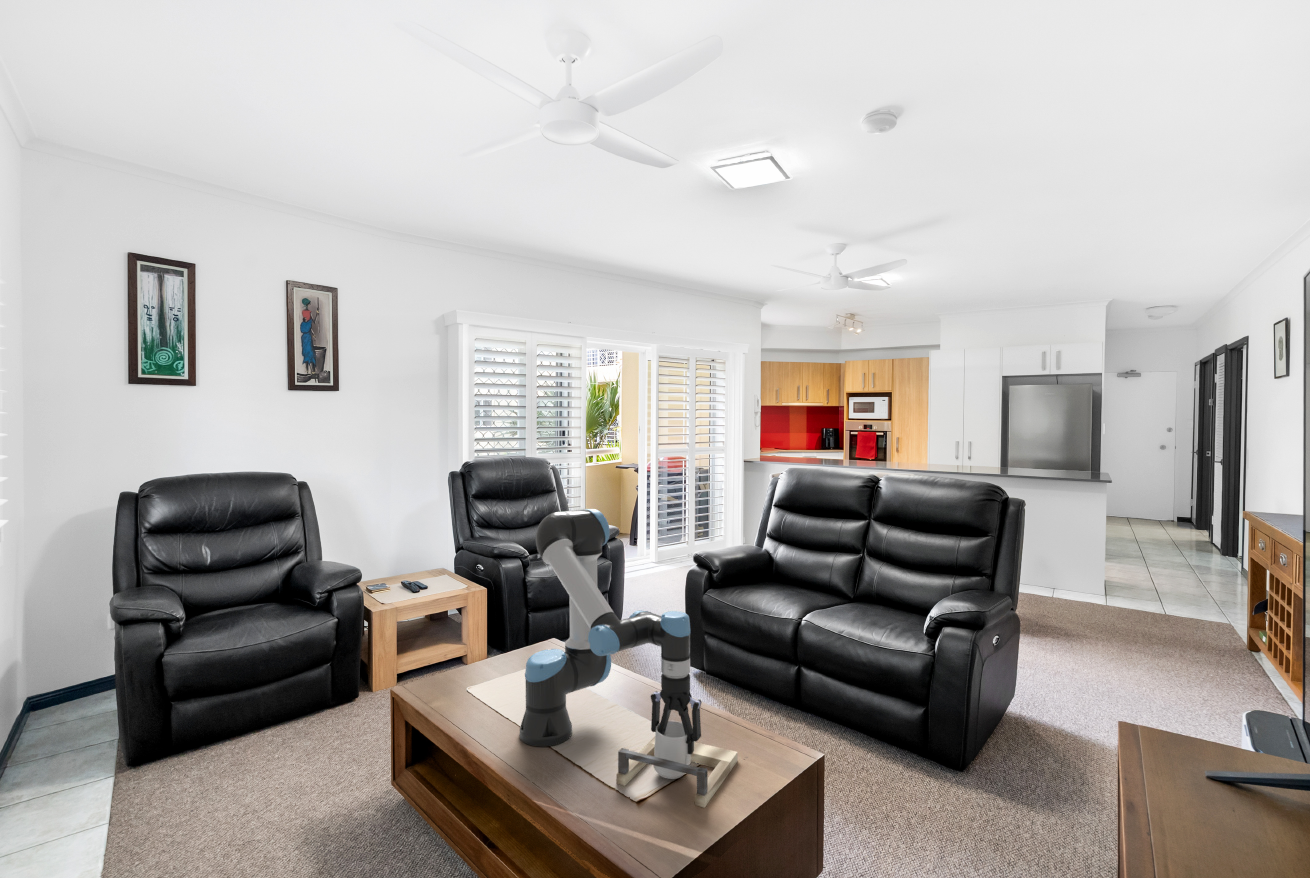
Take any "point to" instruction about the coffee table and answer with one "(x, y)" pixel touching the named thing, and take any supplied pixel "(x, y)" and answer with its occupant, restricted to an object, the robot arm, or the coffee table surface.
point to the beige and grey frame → (682, 767)
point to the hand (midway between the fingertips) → (675, 762)
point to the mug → (670, 748)
